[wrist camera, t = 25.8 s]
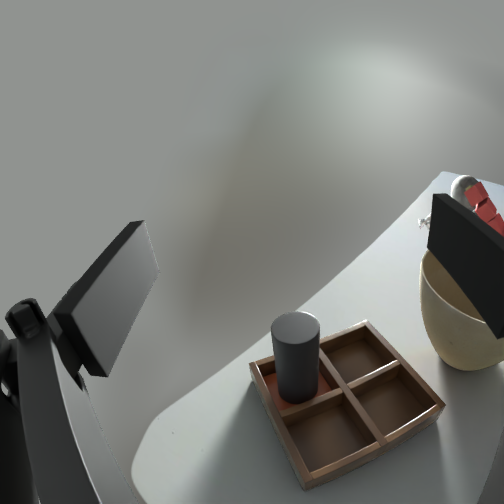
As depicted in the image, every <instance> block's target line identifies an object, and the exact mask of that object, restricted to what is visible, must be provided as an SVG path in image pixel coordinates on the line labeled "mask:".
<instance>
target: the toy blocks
mask: <svg viewBox="0 0 504 504" xmlns="http://www.w3.org/2000/svg"><path fill="white" fill-rule="evenodd" d="M465 190H466V191H465V192H464V194H465V195H466V197H467V199H468V201H469V202H470V204H471V206H472V207H473V206H475V205H476V204H477V205H476V209H475V212H476V213H477V215H478V216H479V218H481V219H482V220H483V221H485V222H486V223H487V224H488V225H490V226H491V227H492V228H493V229H495V230H496V231H497V232H498V233H500V234H501V235H502V236H503V237H504V221H503V219H502V217H501V216H500V214H499V213H498V214H496V211H497V209H496V208H495V206H494V204H493V203H492V201H491V200H490V198H489V197H488V196H489V195H488V193H487V192H486V190H485V188H484V186H483V185H482V183H481V181H480V182H479V183H477V184H475V185H474V186H473V185H470V186H468V187H467V188H466V189H465Z"/></svg>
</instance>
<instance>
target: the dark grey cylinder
mask: <svg viewBox="0 0 504 504" xmlns="http://www.w3.org/2000/svg"><path fill="white" fill-rule="evenodd" d="M271 335H272V343H273V351H274V359H275V368H276V376H277V385H278V392H279V395H280V397H281V398H282V399H283V400H284V401H286V402H288V403H291V404H301V403H304V402H306V401H309V400H311V399H313V398H314V397H315V395H316V394H317V391H318V377H319V346H320V324H319V322H318V320H317V319H316V318H315V317H314V316H313V315H311V314H309V313H305V312H298V311H297V312H289V313H286V314H283V315H281V316H279V317H278V318H276V319H275V320H274V322H273V323H272V326H271Z"/></svg>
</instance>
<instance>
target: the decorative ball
mask: <svg viewBox="0 0 504 504" xmlns="http://www.w3.org/2000/svg"><path fill="white" fill-rule="evenodd" d="M477 183H479V182H478V181H477V180H476V179H475V178H473V177H471V176H468V175H464V176H460V177H458V178H457V179H456V180H455V181H454V182H453V184H452V187H451V197H452V198H453V199H455V200H456V201H458V202H459V203H460V204H462V205H463V206H465V207H466V208H467V209H469V210H470V211H472V210H474V209H476V205H477V204H476V205H475V206H473V207H472V206H471V204H470V202H469V201H468V199H467V197H466V195H465V194H464V192H465V191H466V190H465V189H466V188H467V187H468V186H470V185H473V186H474V185H475V184H477Z"/></svg>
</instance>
